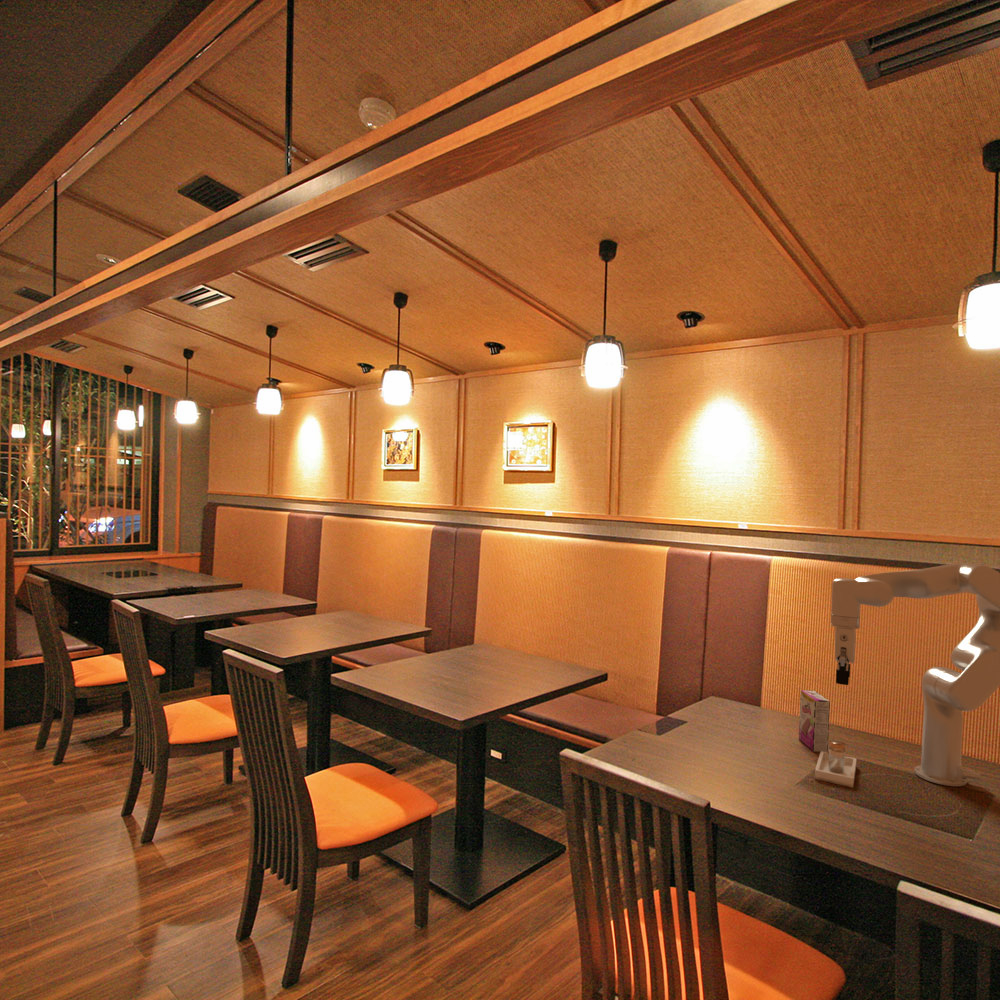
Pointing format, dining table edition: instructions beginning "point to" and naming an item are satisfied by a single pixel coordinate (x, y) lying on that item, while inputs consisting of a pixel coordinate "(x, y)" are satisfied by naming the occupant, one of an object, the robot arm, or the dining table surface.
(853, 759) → the white rectangular tray
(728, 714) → the dining table surface
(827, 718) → the candy bar box
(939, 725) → the robot arm
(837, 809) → the dining table surface
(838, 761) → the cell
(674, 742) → the dining table surface
